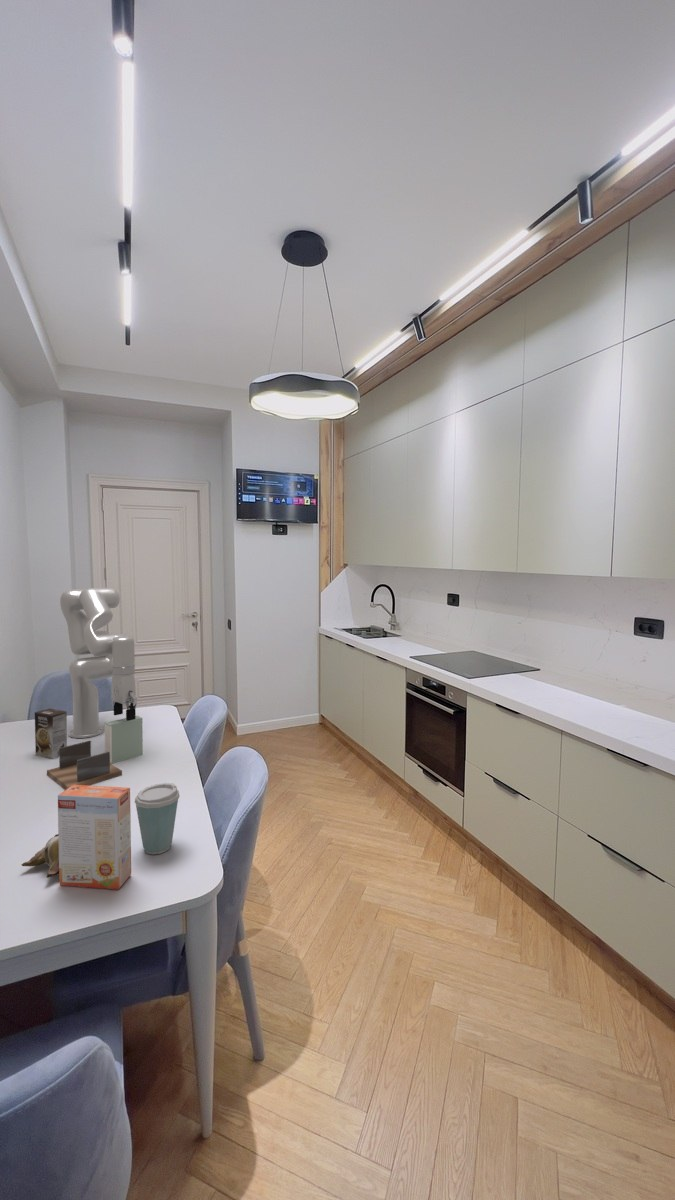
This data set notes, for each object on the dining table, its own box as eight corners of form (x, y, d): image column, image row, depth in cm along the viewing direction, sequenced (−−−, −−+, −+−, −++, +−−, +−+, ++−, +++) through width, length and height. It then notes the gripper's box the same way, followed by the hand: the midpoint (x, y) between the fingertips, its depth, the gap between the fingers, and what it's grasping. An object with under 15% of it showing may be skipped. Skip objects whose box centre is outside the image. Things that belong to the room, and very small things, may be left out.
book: (105, 760, 179) (104, 722, 178) (137, 751, 188) (137, 715, 187) (110, 764, 176) (109, 725, 175) (142, 754, 185) (142, 717, 184)
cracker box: (132, 874, 114) (131, 786, 113) (118, 891, 108) (117, 798, 107) (75, 869, 116) (73, 782, 114) (58, 886, 110) (56, 794, 108)
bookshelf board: (46, 774, 166) (46, 749, 165) (98, 760, 179) (98, 737, 178) (68, 791, 154) (67, 765, 154) (121, 775, 167) (121, 750, 166)
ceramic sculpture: (105, 819, 121) (45, 853, 108) (108, 852, 123) (49, 890, 109) (78, 809, 126) (17, 840, 113) (80, 840, 127) (20, 875, 114)
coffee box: (34, 755, 182) (33, 712, 181) (50, 749, 188) (49, 707, 187) (52, 759, 179) (51, 715, 178) (68, 753, 185) (67, 710, 184)
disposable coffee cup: (135, 863, 118) (134, 802, 117) (134, 840, 128) (133, 784, 127) (181, 854, 122) (181, 795, 121) (177, 832, 132) (177, 777, 131)
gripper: (102, 668, 182) (103, 714, 183) (124, 675, 171) (125, 724, 172) (122, 666, 188) (123, 710, 189) (145, 672, 177) (146, 719, 178)
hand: (124, 717), depth 180 cm, fingers open, 9 cm apart
